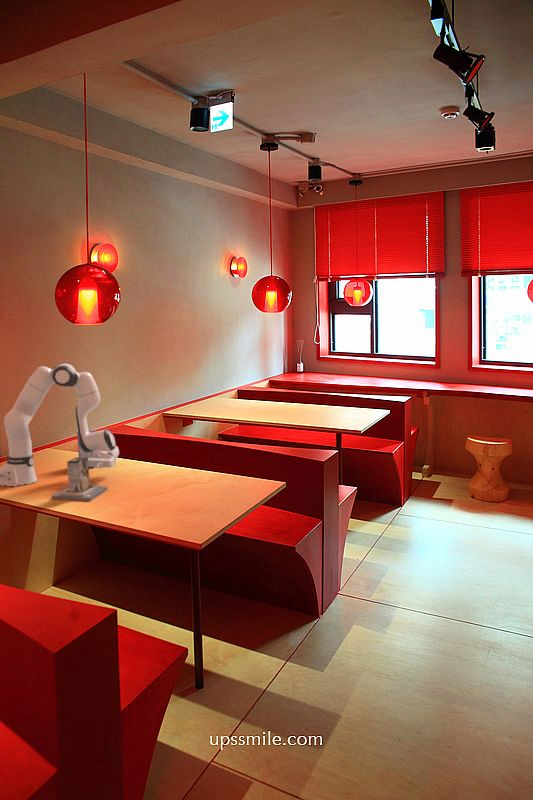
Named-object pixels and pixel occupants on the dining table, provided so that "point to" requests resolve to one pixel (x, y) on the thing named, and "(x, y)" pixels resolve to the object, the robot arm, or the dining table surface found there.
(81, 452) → the milk carton
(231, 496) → the dining table surface
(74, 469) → the coffee box
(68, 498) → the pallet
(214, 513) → the dining table surface
